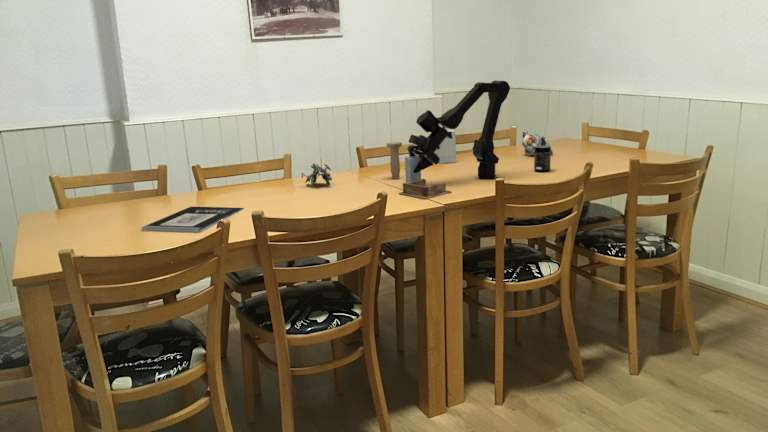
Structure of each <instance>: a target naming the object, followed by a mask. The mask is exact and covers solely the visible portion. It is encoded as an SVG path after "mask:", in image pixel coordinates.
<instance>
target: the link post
mask: <svg viewBox="0 0 768 432" xmlns="http://www.w3.org/2000/svg"><path fill="white" fill-rule="evenodd" d="M419 161H420V157H417V156H410V157H409V156H404V167H405V168H404V170H405V173H404V174H405V183H407V182H411V181H416V180H420V179H422V173H421V172H422V170H421V171H419V172H417V173H413V171H414V169H415V167H416V166H417V164H418V163H419Z"/></svg>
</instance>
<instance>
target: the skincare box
mask: <svg viewBox="0 0 768 432" xmlns="http://www.w3.org/2000/svg"><path fill="white" fill-rule="evenodd" d="M446 130H447V131H450V132H452V139H450V138H447V137H446V138H445V139H444V141H443V142H442V143H441V144H440V146H439V147H440V149H436V151H435V154H436V155H437V156H438V157H439V158H440V161H439V163H438V164H440V165H442V164H449V163H456V162H457V154H456V152H457V151H456V149H457V145H456V144H457V143H456V131H455V130H454V129H446Z"/></svg>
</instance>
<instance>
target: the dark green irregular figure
mask: <svg viewBox="0 0 768 432" xmlns="http://www.w3.org/2000/svg"><path fill="white" fill-rule="evenodd" d="M323 165H324V166H325V168H322V167H321V166H320V165H319V164H317V163H316V164H315V162H313V163H312V164H311V165H310V167H311V169H313V170H312V173H310V174H309V175H308V176H307V175H305V174H304V172H301V178H304V177H307V178H306V180H305V183H304V184H307V183H308V182H309V183H310V186H309V187H310V188H311V187H312V186H313V183H314V184H316V182H317V178H318V177H319V176H321V178H322V179H323V180H324V181H325V182H326V185H328V186H330V185H331V182H330V181H333V178H332V175H331V174H330V172H328V171H327V170H329V171H332V169H331V168H330V166H329V165H327V164H326V163H324V164H323Z"/></svg>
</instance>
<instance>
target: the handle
mask: <svg viewBox="0 0 768 432" xmlns="http://www.w3.org/2000/svg"><path fill="white" fill-rule="evenodd" d="M386 147H387V148H389V149H390V173H391V179H393V180H398V179H400V176H401V175H400V173H401V163H400V162H401V161H400V151H399V150H400V148H401V147H403V142H402V141H393V142H387V143H386Z"/></svg>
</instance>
